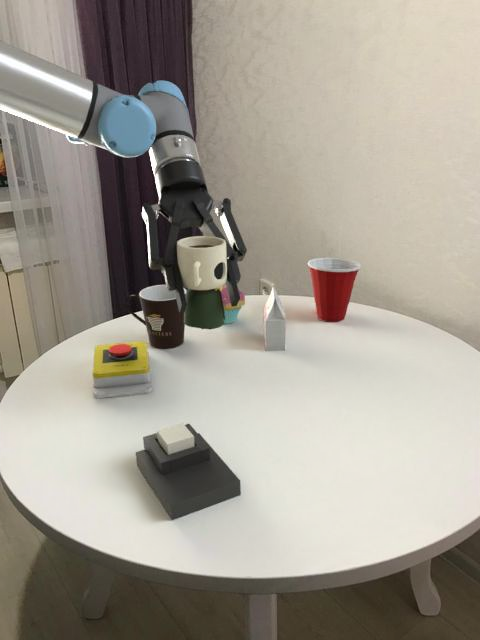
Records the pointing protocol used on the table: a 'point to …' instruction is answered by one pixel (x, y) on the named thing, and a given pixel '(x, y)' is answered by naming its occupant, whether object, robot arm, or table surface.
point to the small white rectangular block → (175, 438)
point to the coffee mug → (160, 316)
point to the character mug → (203, 279)
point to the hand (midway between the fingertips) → (209, 305)
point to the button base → (186, 476)
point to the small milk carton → (274, 323)
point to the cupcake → (230, 311)
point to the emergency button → (121, 370)
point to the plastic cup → (332, 286)
